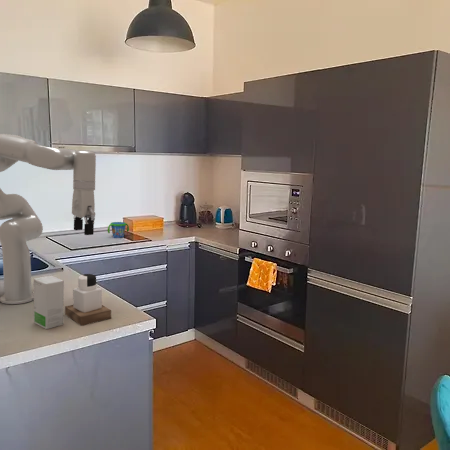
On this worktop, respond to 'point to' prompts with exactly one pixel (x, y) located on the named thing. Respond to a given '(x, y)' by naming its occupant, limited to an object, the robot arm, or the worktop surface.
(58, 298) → the skincare box
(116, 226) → the snack cup
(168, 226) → the worktop surface
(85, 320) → the block
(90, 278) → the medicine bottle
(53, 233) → the worktop surface
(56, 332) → the worktop surface
